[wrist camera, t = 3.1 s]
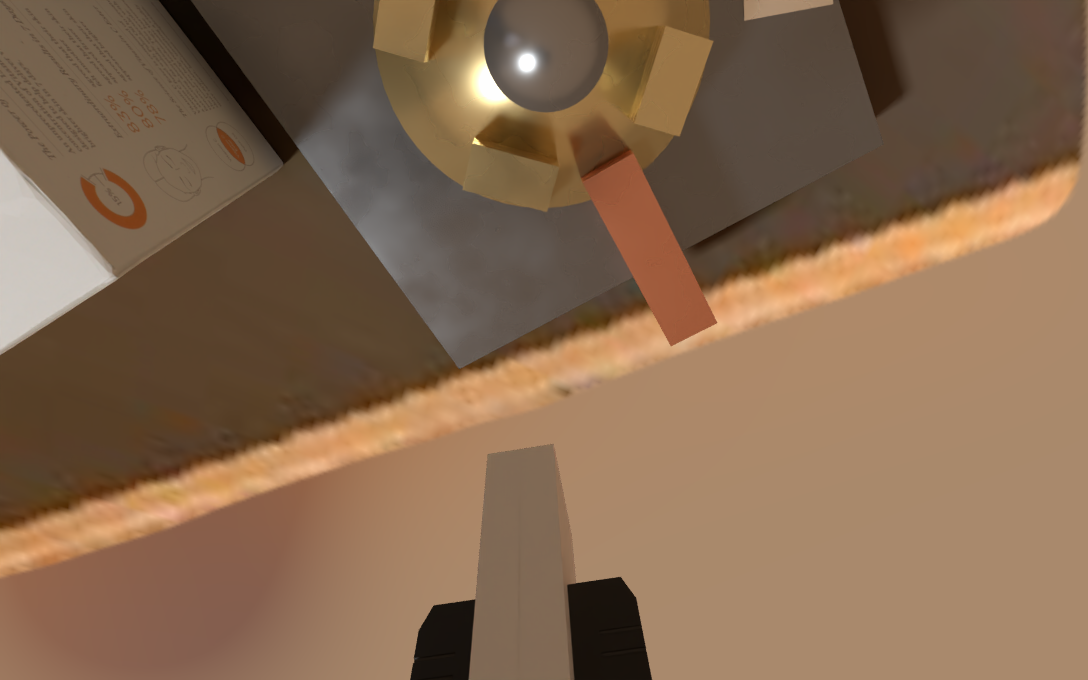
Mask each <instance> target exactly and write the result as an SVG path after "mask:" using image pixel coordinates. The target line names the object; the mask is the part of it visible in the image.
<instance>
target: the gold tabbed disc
mask: <svg viewBox="0 0 1088 680" xmlns="http://www.w3.org/2000/svg"><path fill="white" fill-rule="evenodd" d="M497 1H498V0H374V11H373V29H374V43H373V48H375V51H376V57H377V63H378V68H379V72H380V75H381V79H382V82H383V86H384V89H385V91H386V94H387V96H388V99H389V101H390V103H391V106H392V108H393V110H394V112H395V114H396V116H397V118H398V119H399V121H400V123H401V125H402V126H403V128H404V130H405V131H406V133H407V134H408V135H409V137H410V138H411V140H412V141H413V142H414V144H415V145H416V146H417V148H418V149H419V150H420V151H421V152H422V153H423V154H424V155H425V156H426V157H427V158H428V159H429V161H430V162H431V163H432V164H433V165H435V166H436V167H437V168H438V169H439V170H441V171H442V172H443V173H444V174H445V175H447V176H448V177H449V178H451V179H452V180H454V181H455V182H457V183H459V184H460V185H462V186H463V189H462V190H465V191H468V192H472V193H476V194H479V195H481V196H483V197H486V198H489V199H492V200H495V201H498V202H501V203H505V204H510V205H515V206H520V207H530V208H533V209H537V210H541V211H545V212H547V210H548V208H552V207H563V206H568V205H573V204H578V203H582V202H585V201H588V200H591V199H592V201H593V203H594V205H595V207H596V208H597V210H598V212H599V214H600V216H601V218H602V220H603V221H604V223H605V225H606V227H607V229H608V231H609V233H610V234H611V236H612V238H613V240H614V242H615V244H616V245H617V247H618V249H619V251H620V253H621V255H622V257H623V258H624V260H625V262H626V264H627V266H628V268H629V270H630V271H631V273H632V275H633V277H634V279H635V281H636V282H637V284H638V286H639V288H640V290H641V292H642V294H643V295H644V297H645V299H646V301H647V303H648V305H649V307H650V308H651V310H652V312H653V314H654V316H655V318H656V319H657V321H658V323H659V325H660V327H661V329H662V331H663V332H664V334H665V336H666V338H667V340H668V342H669V344H670V345H671V346H672V345H674V344H676V343H678V342H680V341H682V340H684V339H686V338H688V337H690V336H692V335H694V334H696V333H698V332H700V331H702V330H704V329H706V328H708V327H710V326H712V325H714V324H716V323H717V321H716V319H715V317H714V315H713V313H712V311H711V309H710V307H709V305H708V303H707V301H706V299H705V297H704V295H703V293H702V291H701V289H700V287H699V285H698V283H697V281H696V279H695V277H694V275H693V273H692V271H691V269H690V267H689V265H688V263H687V261H686V259H685V256H684V254H683V252H682V250H681V248H680V246H679V244H678V242H677V240H676V238H675V236H674V234H673V232H672V230H671V228H670V226H669V224H668V222H667V220H666V218H665V216H664V214H663V212H662V210H661V208H660V206H659V204H658V202H657V200H656V198H655V196H654V194H653V192H652V190H651V187H650V185H649V183H648V181H647V179H646V177H645V175H644V173H643V170H644V169H645V168H646V167H647V166H649V165H650V164H651V163H652V162H653V161H654V160H655V159H656V158H657V157H658V155H659V154H660V153H661V152H662V151H663V150H664V149H665V148H666V147H667V145H668V144H669V143H670V141H671V140H672V138H673V137H674V136H675V135H676V136H679V137H680V134H681V131H682V129H683V126H684V123H685V120H686V117H687V114H688V113H689V111H690V108H691V106H692V104H693V101H694V99H695V97H696V94H697V92H698V89H699V86H700V82H701V79H702V76H703V72H704V69H705V64H706V61H707V58H708V55H709V52H710V50H711V47H712V44H713V41H712V40H709V31H710V11H709V0H595V2H596V3H597V4H598V6H599V8H600V10H601V12H602V14H603V17H604V19H605V22H606V26H607V31H608V44H609V47H608V56H607V61H606V65H605V68H604V71H603V73H602V75H601V77H600V79H599V81H598V83H597V84H596V86H595V87H594V88H593V89H592V91H591V92H590V93H589V94H588V95H587V96H586V97H585V98H584V99H583V100H581V101H580V102H578V103H577V104H575V105H573V106H571V107H569V108H567V109H564V110H561V111H556V112H536V111H531V110H528V109H525V108H523V107H521V106H519V105H517V104H515V103H514V102H512V101H511V100H509V99H508V98H507V97H506V96H505V95H504V94H503V93H502V92H501V91H500V89H499V88H498V87H497V85H496V84H495V82H494V81H493V79H492V77H491V75H490V73H489V70H488V67H487V64H486V60H485V55H484V33H485V27H486V24H487V20H488V18H489V15H490V13H491V11H492V9H493V7H494V5H495V4H496V2H497Z"/></svg>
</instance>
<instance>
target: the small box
mask: <svg viewBox="0 0 1088 680" xmlns="http://www.w3.org/2000/svg"><path fill="white" fill-rule="evenodd" d="M282 166H283V162H282V160H281V159H280V158H279V156H278V155H277V154H276V153H275V151H274V150H273V149H272V147H271V146H270V145H269V143H268V142H267V141H266V139H265V138H264V137H263V135H262V134H261V133H260V132H259V130H258V129H257V128H256V126H255V125H254V124H253V122H252V121H251V120H250V118H249V117H248V116H247V114H246V113H245V112H244V111H243V109H242V108H241V107H240V105H239V104H238V103H237V102H236V100H235V99H234V98H233V96H232V95H231V94H230V92H229V91H228V90H227V88H226V87H225V86H224V84H223V83H222V82H221V81H220V79H219V78H218V77H217V75H216V74H215V73H214V71H213V70H212V69H211V67H210V66H209V65H208V64H207V62H206V61H205V60H204V58H203V57H202V56H201V54H200V53H199V52H198V51H197V49H196V48H195V47H194V45H193V44H192V43H191V42H190V40H189V39H188V38H187V36H186V35H185V34H184V33H183V31H182V30H181V29H180V27H179V26H178V25H177V23H176V22H175V21H174V20H173V18H172V17H171V16H170V14H169V13H168V12H167V11H166V9H165V8H164V7H163V5H162V4H161V3H160V2H159V0H0V355H1V354H2V353H4V352H6V351H7V350H9V349H10V348H12V347H14V346H15V345H17V344H18V343H20V342H21V341H23V340H25V339H26V338H28V337H29V336H31V335H32V334H34V333H35V332H37V331H39V330H40V329H42V328H43V327H45V326H46V325H48V324H49V323H51V322H53V321H54V320H56V319H57V318H59V317H60V316H62V315H63V314H65V313H66V312H68V311H70V310H71V309H73V308H74V307H76V306H77V305H79V304H80V303H82V302H83V301H85V300H86V299H88V298H90V297H91V296H93V295H94V294H96V293H98V292H99V291H101V290H102V289H104V288H105V287H107V286H108V285H110V284H111V283H113V282H114V281H116V280H117V279H119V278H120V277H121V276H123V275H124V274H125V273H127V272H128V271H130V270H131V269H132V268H134V267H135V266H137V265H138V264H139V263H141V262H142V261H144V260H145V259H147V258H148V257H150V256H151V255H153V254H154V253H156V252H157V251H159V250H160V249H162V248H163V247H165V246H166V245H168V244H169V243H171V242H172V241H174V240H175V239H177V238H178V237H180V236H181V235H183V234H184V233H186V232H187V231H189V230H190V229H192V228H193V227H195V226H196V225H198V224H200V223H201V222H203V221H204V220H206V219H207V218H209V217H210V216H212V215H213V214H215V213H216V212H218V211H219V210H221V209H222V208H224V207H225V206H227V205H228V204H229V203H231V202H232V201H234V200H235V199H237V198H238V197H240V196H241V195H243V194H244V193H246V192H247V191H249V190H250V189H252V188H253V187H255V186H256V185H258V184H259V183H261V182H262V181H264V180H265V179H267V178H268V177H270V176H271V175H273V174H274V173H275V172H277V171H278V170H279V169H280V168H281V167H282Z"/></svg>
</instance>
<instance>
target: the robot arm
mask: <svg viewBox="0 0 1088 680" xmlns="http://www.w3.org/2000/svg"><path fill="white" fill-rule="evenodd" d="M575 577H576V576H575V565H574V554H573V544H572V534H571V530H570V524H569V519H568V514H567V510H566V504H565V499H564V494H563V489H562V484H561V480H560V474H559V468H558V464H557V458H556V454H555V448H554V444H550V445H544V446H537V447H531V448H524V449H519V450H512V451H505V452H499V453H492V454H488V456H487V468H486V480H485V493H484V504H483V516H482V529H481V539H480V552H479V563H478V576H477V588H476V599H475V600H469V601H462V602H455V603H448V604H441V605H434V606H433V607H432V609H431V611H430V613H429V614H428V616H427V618H426V619H425V621H424V623H423V624H422V626H421V628H420V630H419V632H418V638H417V644H416V650H415V655H414V663H413V667H412V673H411V679H410V680H652V677H651V672H650V668H649V662H648V657H647V652H646V646H645V641H644V636H643V631H642V626H641V621H640V616H639V610H638V606H637V600H636V597H635V596H634V594H633V593H632V592H631V591H630V589H629V588H628V586H627V585H626V584H625V582H624V581H623V580H622V578H621V577H616V578H609V579H603V580H596V581H589V582H582V583H576V578H575Z"/></svg>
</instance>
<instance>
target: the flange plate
mask: <svg viewBox="0 0 1088 680" xmlns="http://www.w3.org/2000/svg"><path fill="white" fill-rule="evenodd" d="M191 1H192V3H193V4H194V6H195V7H196V8H197V10H198V11H199V12H200V14H201V15H202V17H203V18H204V19H205V21H206V22H207V23H208V25H209V26H210V28H211V29H212V30H213V32H214V33H215V34H216V36H217V37H218V38H219V40H220V41H221V43H222V44H223V45H224V47H225V48H226V49H227V51H228V52H229V54H230V55H231V56H232V58H233V59H234V60H235V62H236V63H237V65H238V66H239V67H240V69H241V70H242V71H243V73H244V74H245V76H246V77H247V78H248V80H249V81H250V82H251V84H252V85H253V87H254V88H255V89H256V91H257V92H258V93H259V95H260V96H261V97H262V99H263V100H264V102H265V103H266V104H267V106H268V107H269V108H270V110H271V111H272V113H273V114H274V115H275V117H276V118H277V119H278V121H279V122H280V124H281V125H282V126H283V128H284V129H285V130H286V132H287V133H288V135H289V136H290V137H291V139H292V140H293V141H294V143H295V144H296V145H297V147H298V148H299V150H300V151H301V152H302V154H303V155H304V156H305V158H306V159H307V161H308V162H309V163H310V165H311V166H312V167H313V169H314V170H315V172H316V173H317V174H318V176H319V177H320V178H321V180H322V181H323V183H324V184H325V185H326V187H327V188H328V189H329V191H330V192H331V194H332V195H333V196H334V198H335V199H336V200H337V202H338V203H339V204H340V206H341V207H342V209H343V210H344V211H345V213H346V214H347V215H348V217H349V218H350V220H351V221H352V222H353V224H354V225H355V226H356V228H357V229H358V231H359V232H360V233H361V235H362V236H363V237H364V239H365V240H366V242H367V243H368V244H369V246H370V247H371V248H372V250H373V251H374V253H375V254H376V255H377V257H378V258H379V259H380V261H381V262H382V263H383V265H384V266H385V268H386V269H387V270H388V272H389V273H390V274H391V276H392V277H393V279H394V280H395V281H396V283H397V284H398V285H399V287H400V288H401V290H402V291H403V292H404V294H405V295H406V296H407V298H408V299H409V301H410V302H411V303H412V305H413V306H414V307H415V309H416V310H417V311H418V313H419V314H420V316H421V317H422V318H423V320H424V321H425V322H426V324H427V325H428V327H429V328H430V329H431V331H432V332H433V333H434V335H435V336H436V338H437V339H438V340H439V342H440V343H441V344H442V346H443V347H444V349H445V350H446V351H447V353H448V354H449V355H450V357H451V358H452V360H453V361H454V362H455V364H456V365H457V366H458V368H459V369H460V368H462V367H464V366H466V365H468V364H470V363H471V362H473V361H475V360H477V359H479V358H481V357H483V356H485V355H487V354H488V353H490V352H492V351H494V350H496V349H498V348H500V347H502V346H504V345H505V344H507V343H509V342H511V341H513V340H515V339H517V338H519V337H521V336H522V335H524V334H526V333H528V332H530V331H532V330H534V329H536V328H538V327H539V326H541V325H543V324H545V323H547V322H549V321H551V320H553V319H555V318H556V317H558V316H560V315H562V314H564V313H566V312H568V311H570V310H572V309H573V308H575V307H577V306H579V305H581V304H583V303H585V302H587V301H589V300H590V299H592V298H594V297H596V296H598V295H600V294H602V293H604V292H606V291H607V290H609V289H611V288H613V287H615V286H617V285H619V284H621V283H623V282H624V281H626V280H628V279H630V278H632V277H633V275H632V273H631V271H630V270H629V268H628V266H627V264H626V262H625V260H624V258H623V257H622V255H621V253H620V251H619V249H618V247H617V245H616V244H615V242H614V240H613V238H612V236H611V234H610V233H609V231H608V229H607V227H606V225H605V223H604V221H603V220H602V218H601V216H600V214H599V212H598V210H597V208H596V207H595V205H594V203H593V201H592V199H591V200H588V201H585V202H582V203H578V204H573V205H568V206H563V207H552V208H548V210H547V212H545V211H541V210H537V209H533V208H530V207H520V206H515V205H510V204H505V203H501V202H498V201H495V200H492V199H489V198H486V197H483V196H481V195H479V194H476V193H472V192H468V191H465V190H462V189H463V186H462V185H460V184H459V183H457V182H455V181H454V180H452V179H451V178H449V177H448V176H447V175H445V174H444V173H443V172H442V171H441V170H439V169H438V168H437V167H436V166H435V165H433V164H432V163H431V162H430V161H429V159H428V158H427V157H426V156H425V155H424V154H423V153H422V152H421V151H420V150H419V149H418V148H417V146H416V145H415V144H414V142H413V141H412V140H411V138H410V137H409V135H408V134H407V133H406V131H405V130H404V128H403V126H402V125H401V123H400V121H399V119H398V118H397V116H396V114H395V112H394V110H393V108H392V106H391V103H390V101H389V99H388V96H387V94H386V91H385V89H384V86H383V82H382V79H381V75H380V72H379V68H378V63H377V57H376V51H375V48H373V43H374V29H373V11H374V0H191ZM709 11H710V31H709V40H712V41H713V44H712V47H711V50H710V52H709V55H708V58H707V61H706V64H705V69H704V72H703V76H702V79H701V82H700V86H699V89H698V92H697V94H696V97H695V99H694V101H693V104H692V106H691V108H690V111H689V113H688V114H687V117H686V120H685V123H684V126H683V129H682V131H681V134H680V137H679V136H676V135H675V136H674V137H673V138H672V140H671V141H670V143H669V144H668V145H667V147H666V148H665V149H664V150H663V151H662V152H661V153H660V154H659V155H658V157H657V158H656V159H655V160H654V161H653V162H652V163H651V164H650V165H649V166H647V167H646V168H645V169H644V170H643V173H644V175H645V177H646V179H647V181H648V183H649V185H650V187H651V190H652V192H653V194H654V196H655V198H656V200H657V202H658V204H659V206H660V208H661V210H662V212H663V214H664V216H665V218H666V220H667V222H668V224H669V226H670V228H671V230H672V232H673V234H674V236H675V238H676V240H677V242H678V244H679V246H680V248H681V250H682V251H683V250H685V249H687V248H689V247H691V246H692V245H694V244H696V243H698V242H700V241H702V240H704V239H706V238H708V237H709V236H711V235H713V234H715V233H717V232H719V231H721V230H723V229H725V228H726V227H728V226H730V225H732V224H734V223H736V222H738V221H740V220H742V219H743V218H745V217H747V216H749V215H751V214H753V213H755V212H757V211H759V210H760V209H762V208H764V207H766V206H768V205H770V204H772V203H774V202H776V201H777V200H779V199H781V198H783V197H785V196H787V195H789V194H791V193H793V192H794V191H796V190H798V189H800V188H802V187H804V186H806V185H808V184H810V183H812V182H813V181H815V180H817V179H819V178H821V177H823V176H825V175H827V174H829V173H830V172H832V171H834V170H836V169H838V168H840V167H842V166H844V165H846V164H847V163H849V162H851V161H853V160H855V159H857V158H859V157H861V156H863V155H864V154H866V153H868V152H870V151H872V150H874V149H876V148H878V147H880V146H881V145H883V144H884V143H883V140H882V137H881V134H880V131H879V127H878V124H877V121H876V118H875V115H874V111H873V108H872V105H871V102H870V99H869V96H868V92H867V89H866V86H865V83H864V80H863V76H862V73H861V70H860V67H859V64H858V60H857V57H856V54H855V51H854V48H853V44H852V41H851V38H850V35H849V32H848V28H847V25H846V22H845V19H844V16H843V12H842V9H841V6H840V3H839V0H709ZM608 47H609V44H608V31H607V26H606V22H605V19H604V17H603V14H602V12H601V10H600V8H599V6H598V4H597V3H596V2H595V0H498V1H497V2H496V4H495V5H494V7H493V9H492V11H491V13H490V15H489V18H488V20H487V24H486V27H485V33H484V55H485V60H486V64H487V67H488V70H489V73H490V75H491V77H492V79H493V81H494V82H495V84H496V85H497V87H498V88H499V89H500V91H501V92H502V93H503V94H504V95H505V96H506V97H507V98H508V99H509V100H511V101H512V102H514V103H515V104H517V105H519V106H521V107H523V108H525V109H528V110H531V111H536V112H556V111H561V110H564V109H567V108H569V107H571V106H573V105H575V104H577V103H578V102H580V101H581V100H583V99H584V98H585V97H586V96H587V95H588V94H589V93H590V92H591V91H592V89H593V88H594V87H595V86H596V84H597V83H598V81H599V79H600V77H601V75H602V73H603V71H604V68H605V65H606V61H607V56H608Z"/></svg>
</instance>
